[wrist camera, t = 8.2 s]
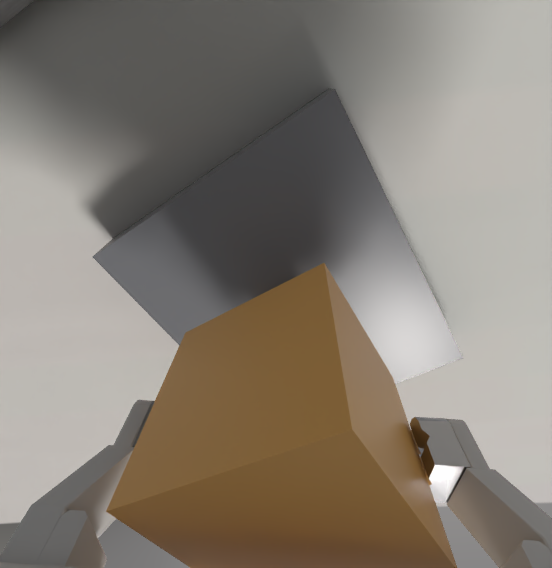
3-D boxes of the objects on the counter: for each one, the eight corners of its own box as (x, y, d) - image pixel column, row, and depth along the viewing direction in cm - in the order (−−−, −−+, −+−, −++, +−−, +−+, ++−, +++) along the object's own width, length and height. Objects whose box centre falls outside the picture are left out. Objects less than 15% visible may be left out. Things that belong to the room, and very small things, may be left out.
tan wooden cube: (268, 423, 15) (253, 609, 9) (185, 332, 12) (105, 511, 7) (393, 377, 13) (458, 572, 8) (324, 262, 11) (352, 429, 5)
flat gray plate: (267, 406, 23) (260, 513, 17) (112, 239, 17) (24, 316, 11) (448, 333, 19) (514, 437, 13) (328, 88, 13) (357, 92, 8)
